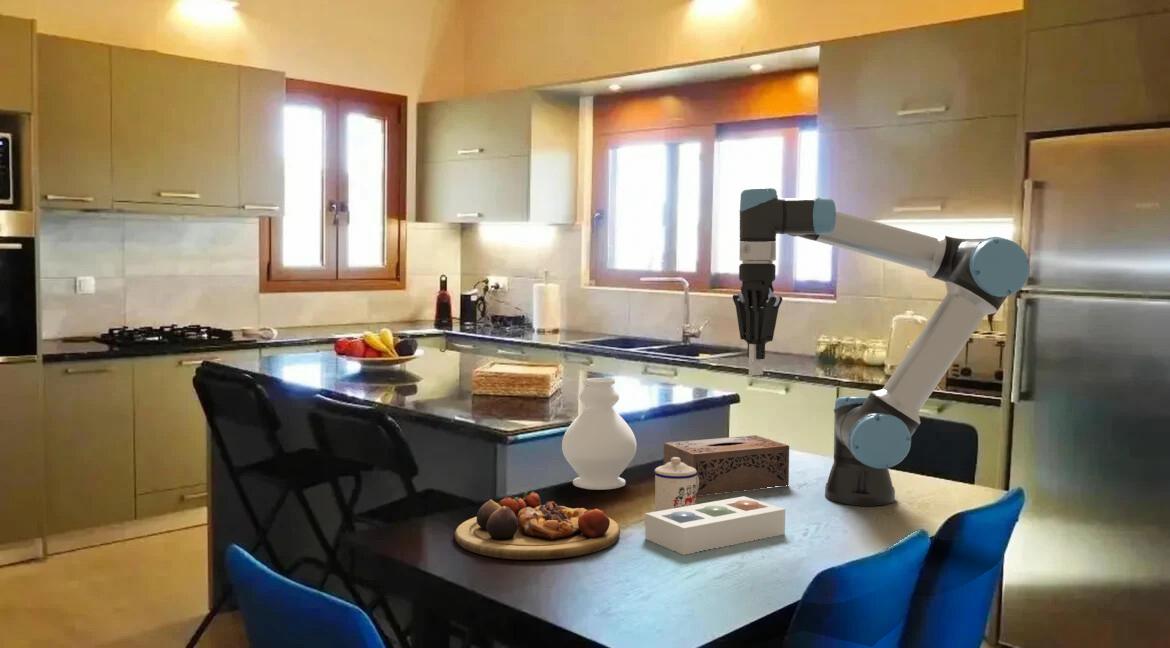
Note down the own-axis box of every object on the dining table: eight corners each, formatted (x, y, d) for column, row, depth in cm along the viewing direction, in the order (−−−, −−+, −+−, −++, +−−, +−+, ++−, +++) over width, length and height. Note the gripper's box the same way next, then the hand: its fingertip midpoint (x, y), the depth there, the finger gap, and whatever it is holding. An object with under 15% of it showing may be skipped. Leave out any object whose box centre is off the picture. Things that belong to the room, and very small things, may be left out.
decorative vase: (649, 480, 234) (650, 378, 233) (611, 496, 219) (612, 386, 218) (587, 472, 244) (587, 373, 242) (547, 486, 229) (547, 381, 227)
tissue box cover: (755, 474, 242) (755, 435, 242) (788, 487, 229) (789, 445, 228) (663, 483, 232) (663, 442, 232) (692, 497, 219) (693, 454, 218)
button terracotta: (747, 518, 195) (748, 499, 195) (763, 523, 191) (763, 504, 191) (730, 522, 193) (730, 502, 192) (745, 527, 189) (746, 507, 188)
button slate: (685, 530, 187) (685, 510, 186) (700, 536, 183) (700, 515, 182) (666, 534, 184) (666, 513, 184) (680, 540, 180) (681, 519, 180)
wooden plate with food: (654, 538, 188) (654, 496, 187) (531, 574, 165) (531, 526, 165) (543, 510, 210) (543, 473, 210) (422, 539, 188) (421, 497, 188)
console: (743, 520, 199) (743, 496, 199) (784, 534, 189) (785, 509, 189) (645, 538, 186) (645, 513, 186) (683, 555, 176) (684, 528, 176)
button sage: (717, 524, 191) (717, 504, 190) (732, 530, 187) (732, 509, 187) (698, 527, 188) (699, 507, 188) (714, 533, 184) (714, 513, 184)
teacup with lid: (677, 520, 200) (678, 464, 199) (645, 511, 206) (645, 457, 205) (714, 509, 208) (714, 456, 207) (681, 501, 214) (681, 449, 214)
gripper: (723, 262, 206) (722, 372, 208) (765, 262, 195) (763, 379, 197) (749, 262, 210) (748, 370, 212) (792, 262, 199) (790, 376, 201)
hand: (755, 374), depth 204 cm, fingers closed
